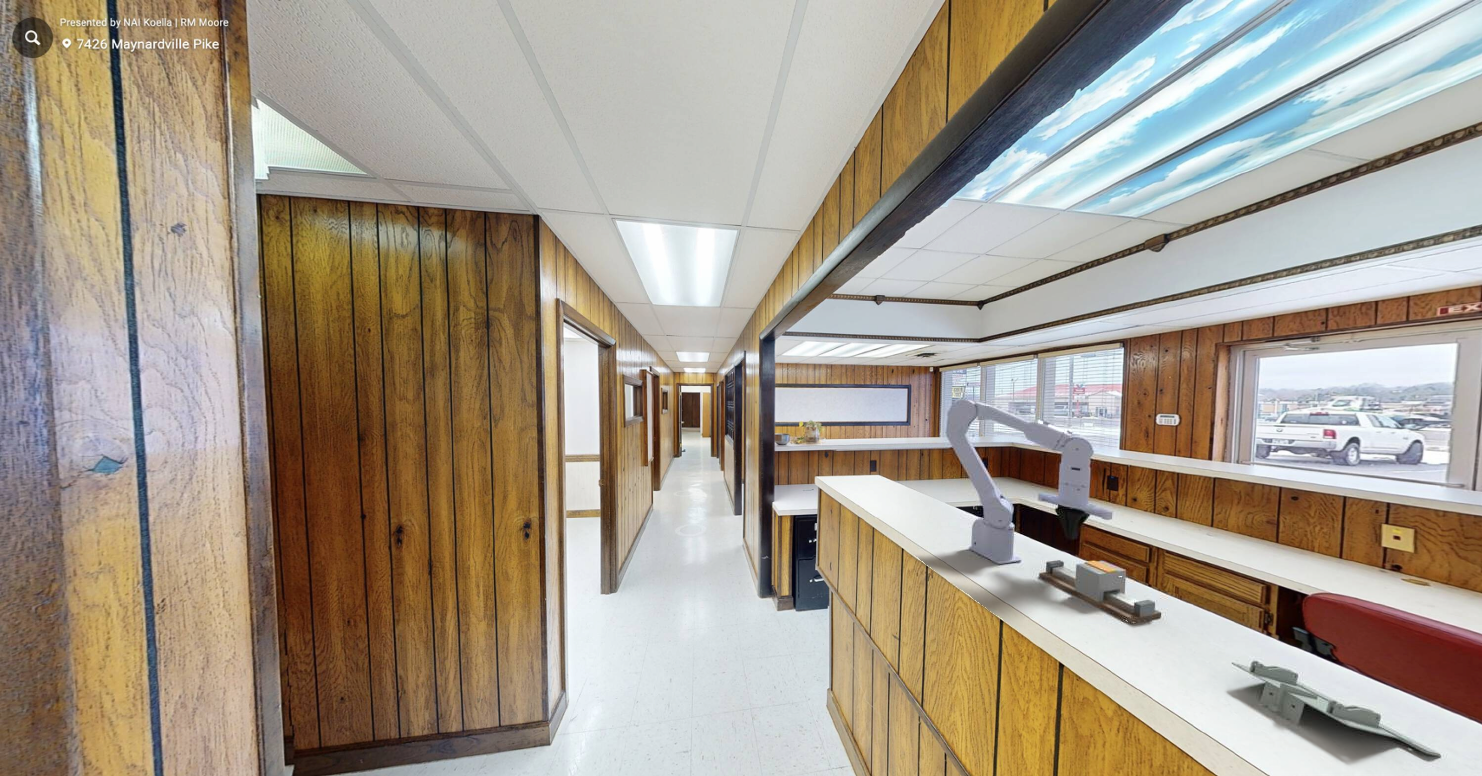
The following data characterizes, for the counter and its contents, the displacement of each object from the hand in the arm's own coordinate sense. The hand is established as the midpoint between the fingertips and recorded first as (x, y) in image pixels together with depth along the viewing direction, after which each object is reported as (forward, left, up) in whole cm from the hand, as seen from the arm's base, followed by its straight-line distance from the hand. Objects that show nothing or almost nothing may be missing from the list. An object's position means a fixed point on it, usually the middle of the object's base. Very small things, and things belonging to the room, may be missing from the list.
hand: (1070, 538), depth 94 cm
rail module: (+9, -4, -8) cm, 13 cm away
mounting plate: (+8, -4, -9) cm, 13 cm away
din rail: (+8, -4, -9) cm, 13 cm away
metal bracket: (+38, -7, -10) cm, 39 cm away
